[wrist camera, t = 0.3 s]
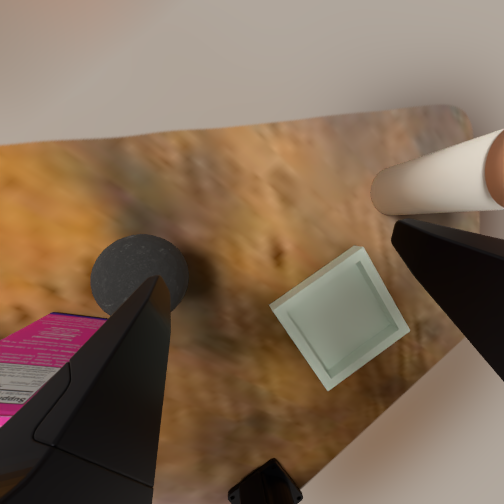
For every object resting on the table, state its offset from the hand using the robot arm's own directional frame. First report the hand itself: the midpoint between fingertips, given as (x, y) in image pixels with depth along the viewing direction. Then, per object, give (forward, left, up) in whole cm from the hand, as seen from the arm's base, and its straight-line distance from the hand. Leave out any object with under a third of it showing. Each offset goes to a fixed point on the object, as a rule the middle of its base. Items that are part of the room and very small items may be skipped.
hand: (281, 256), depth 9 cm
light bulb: (+2, +7, -14) cm, 16 cm away
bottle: (-5, -16, -14) cm, 22 cm away
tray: (-13, -4, -14) cm, 19 cm away
